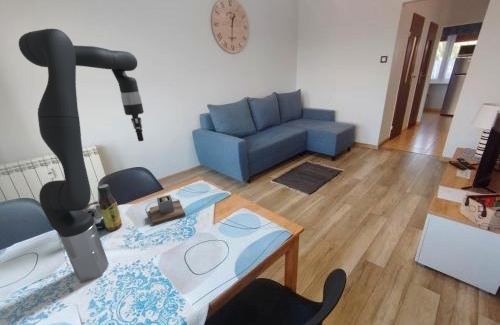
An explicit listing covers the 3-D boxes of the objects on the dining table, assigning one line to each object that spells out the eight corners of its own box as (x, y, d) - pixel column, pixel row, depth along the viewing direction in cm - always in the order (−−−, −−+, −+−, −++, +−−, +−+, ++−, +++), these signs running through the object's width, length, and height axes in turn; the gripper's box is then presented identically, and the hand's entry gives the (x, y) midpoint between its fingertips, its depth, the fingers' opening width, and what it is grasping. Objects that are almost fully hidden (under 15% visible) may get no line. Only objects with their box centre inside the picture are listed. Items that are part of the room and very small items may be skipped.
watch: (88, 234, 97) (80, 212, 93) (97, 223, 105) (90, 202, 101) (102, 232, 98) (94, 210, 94) (110, 221, 105) (103, 200, 102)
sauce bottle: (117, 231, 98) (104, 189, 91) (103, 232, 98) (89, 190, 91) (125, 222, 104) (114, 182, 97) (112, 222, 105) (99, 183, 97)
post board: (185, 215, 107) (182, 201, 104) (153, 225, 101) (149, 210, 98) (179, 202, 118) (176, 189, 116) (150, 210, 113) (146, 196, 110)
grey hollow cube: (174, 211, 108) (172, 200, 106) (160, 215, 105) (158, 203, 103) (172, 205, 113) (169, 194, 111) (159, 209, 110) (156, 198, 108)
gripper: (142, 103, 97) (150, 141, 102) (140, 101, 108) (147, 134, 114) (122, 105, 93) (132, 144, 99) (122, 102, 105) (131, 137, 111)
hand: (140, 139), depth 107 cm, fingers open, 8 cm apart
